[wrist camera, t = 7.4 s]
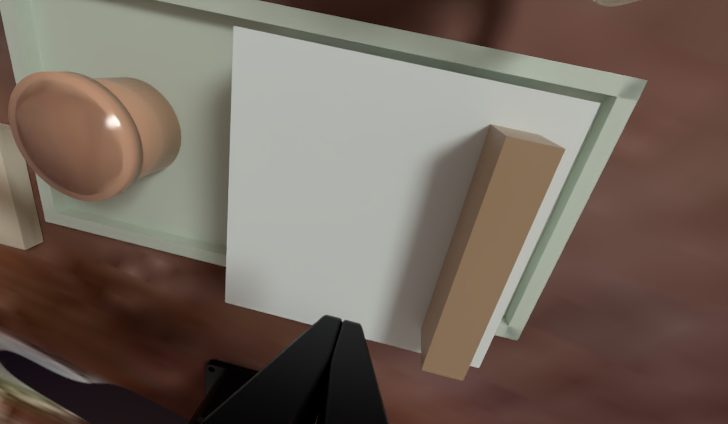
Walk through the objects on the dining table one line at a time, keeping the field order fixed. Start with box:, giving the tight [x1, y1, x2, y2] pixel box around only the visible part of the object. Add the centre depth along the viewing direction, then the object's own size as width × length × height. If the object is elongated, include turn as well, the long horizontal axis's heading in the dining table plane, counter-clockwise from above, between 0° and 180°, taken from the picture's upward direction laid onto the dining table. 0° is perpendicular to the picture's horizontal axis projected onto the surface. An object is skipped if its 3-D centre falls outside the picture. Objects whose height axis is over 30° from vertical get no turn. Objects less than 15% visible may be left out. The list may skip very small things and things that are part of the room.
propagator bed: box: [0, 0, 648, 340], centre depth 18 cm, size 14×29×2 cm, turn 79°
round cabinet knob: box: [8, 71, 181, 201], centre depth 17 cm, size 6×6×4 cm
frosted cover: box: [225, 26, 601, 381], centre depth 14 cm, size 12×12×7 cm
